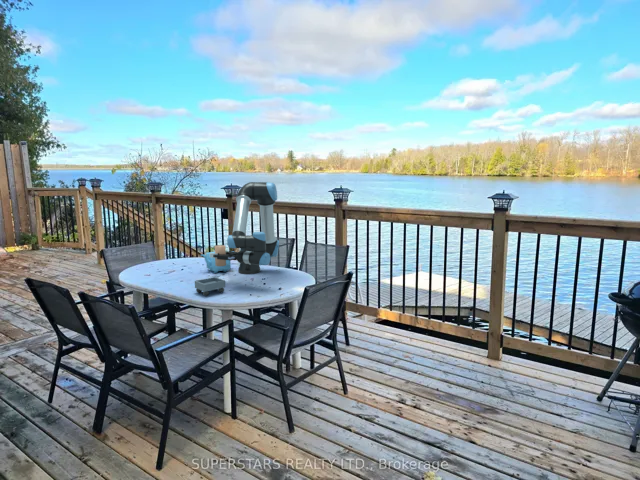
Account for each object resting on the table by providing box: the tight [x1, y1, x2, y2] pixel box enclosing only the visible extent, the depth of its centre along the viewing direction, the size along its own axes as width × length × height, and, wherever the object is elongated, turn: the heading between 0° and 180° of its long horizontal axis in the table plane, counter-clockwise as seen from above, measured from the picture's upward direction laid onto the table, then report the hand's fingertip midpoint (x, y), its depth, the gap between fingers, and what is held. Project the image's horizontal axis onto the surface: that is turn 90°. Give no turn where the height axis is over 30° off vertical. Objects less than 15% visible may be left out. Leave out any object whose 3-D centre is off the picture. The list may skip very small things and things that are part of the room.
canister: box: [214, 244, 227, 266], centre depth 243 cm, size 6×6×12 cm
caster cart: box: [194, 276, 226, 297], centre depth 226 cm, size 13×11×7 cm
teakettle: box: [201, 250, 235, 274], centre depth 276 cm, size 19×19×15 cm
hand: (213, 254), depth 245 cm, fingers closed on canister, 6 cm apart
